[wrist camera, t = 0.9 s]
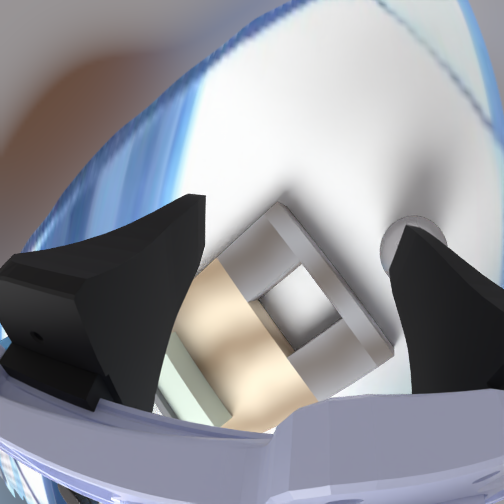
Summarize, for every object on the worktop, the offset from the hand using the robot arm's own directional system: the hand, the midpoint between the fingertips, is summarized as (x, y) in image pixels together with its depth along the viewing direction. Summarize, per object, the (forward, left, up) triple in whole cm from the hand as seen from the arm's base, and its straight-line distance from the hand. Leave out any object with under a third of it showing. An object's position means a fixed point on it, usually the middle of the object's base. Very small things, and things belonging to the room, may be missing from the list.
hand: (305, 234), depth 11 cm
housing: (-1, +11, -13) cm, 18 cm away
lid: (-1, +18, -11) cm, 21 cm away
